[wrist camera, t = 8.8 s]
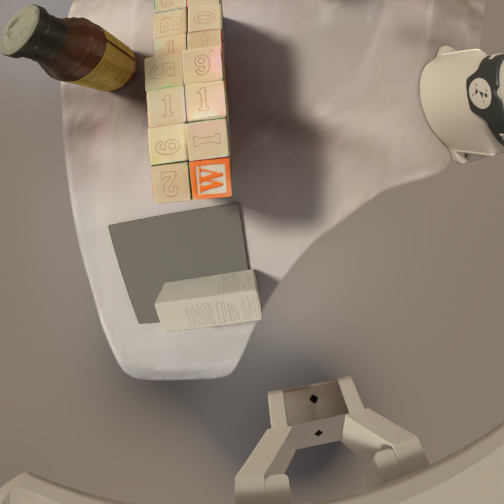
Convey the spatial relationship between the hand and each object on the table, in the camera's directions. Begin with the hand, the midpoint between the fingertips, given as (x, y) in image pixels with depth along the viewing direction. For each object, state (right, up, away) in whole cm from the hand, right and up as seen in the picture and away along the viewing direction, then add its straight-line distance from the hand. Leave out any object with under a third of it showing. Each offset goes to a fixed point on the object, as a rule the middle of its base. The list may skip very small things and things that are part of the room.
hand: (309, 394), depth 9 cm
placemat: (-11, +3, +27) cm, 30 cm away
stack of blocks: (-8, +23, +20) cm, 32 cm away
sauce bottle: (-19, +27, +18) cm, 37 cm away
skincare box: (-1, 0, +25) cm, 25 cm away
